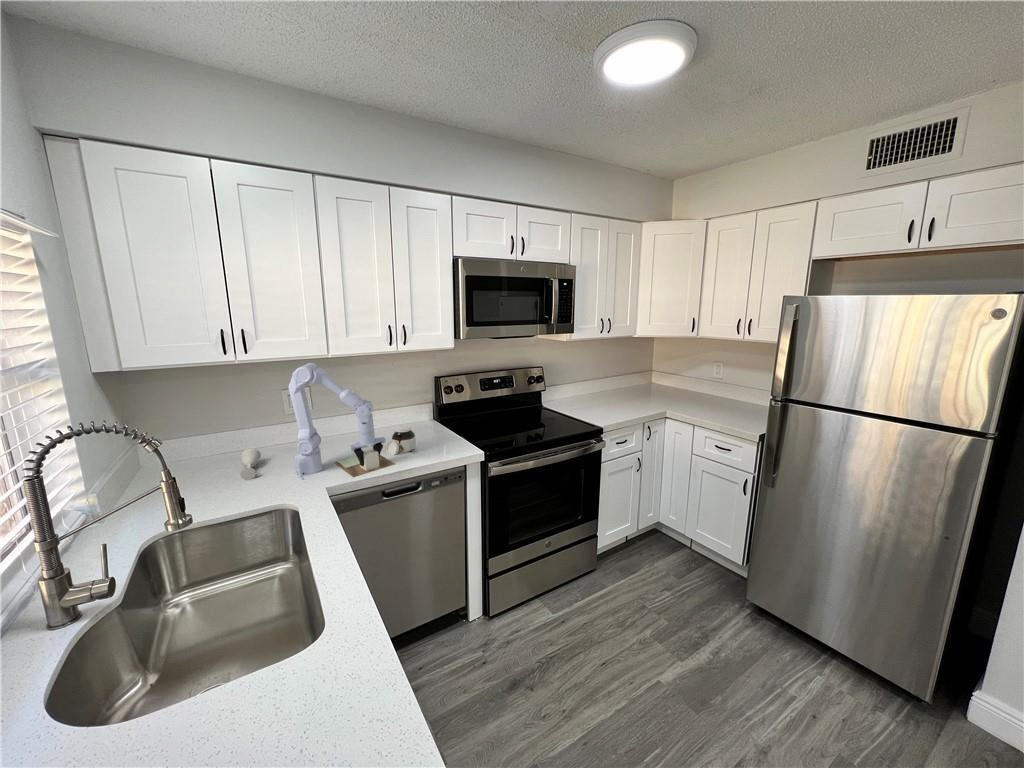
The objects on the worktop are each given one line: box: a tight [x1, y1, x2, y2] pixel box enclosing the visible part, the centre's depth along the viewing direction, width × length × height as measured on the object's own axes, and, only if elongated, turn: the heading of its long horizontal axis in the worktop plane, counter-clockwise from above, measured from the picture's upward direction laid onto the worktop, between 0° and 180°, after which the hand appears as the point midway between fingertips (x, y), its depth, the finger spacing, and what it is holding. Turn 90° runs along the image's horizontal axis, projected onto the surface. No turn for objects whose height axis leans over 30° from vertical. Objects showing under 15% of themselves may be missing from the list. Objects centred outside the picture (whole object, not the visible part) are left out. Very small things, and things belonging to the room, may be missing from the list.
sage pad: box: [336, 455, 360, 468], centre depth 175 cm, size 9×9×1 cm
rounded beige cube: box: [360, 447, 379, 471], centre depth 169 cm, size 6×6×6 cm
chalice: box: [240, 447, 262, 481], centre depth 169 cm, size 7×7×18 cm
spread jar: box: [385, 424, 417, 456], centre depth 186 cm, size 12×11×12 cm
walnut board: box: [333, 454, 396, 478], centre depth 173 cm, size 18×20×1 cm
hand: (369, 463), depth 169 cm, fingers open, 6 cm apart
